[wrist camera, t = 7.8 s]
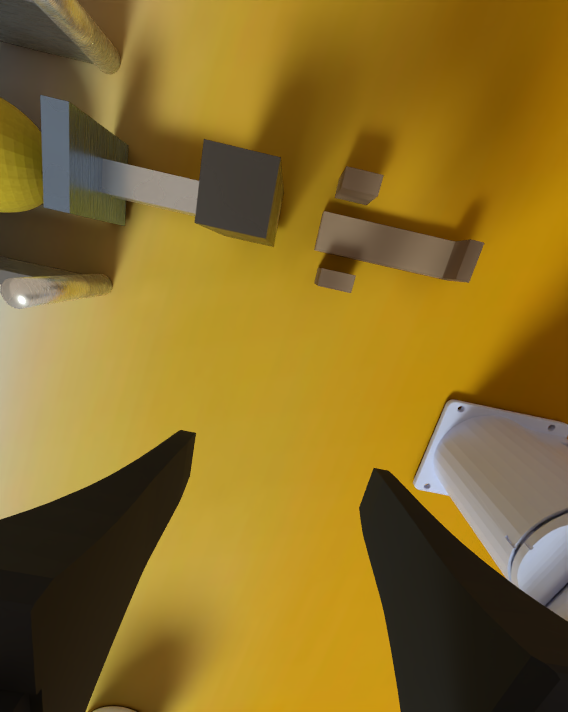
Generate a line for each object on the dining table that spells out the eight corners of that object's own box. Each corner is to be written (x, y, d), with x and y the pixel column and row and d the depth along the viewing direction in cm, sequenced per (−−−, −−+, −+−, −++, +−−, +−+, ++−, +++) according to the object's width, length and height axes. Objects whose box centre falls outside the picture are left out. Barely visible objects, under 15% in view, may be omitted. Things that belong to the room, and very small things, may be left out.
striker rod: (286, 182, 17) (284, 136, 11) (272, 259, 19) (262, 256, 12) (107, 140, 17) (-1, 67, 11) (105, 221, 18) (8, 199, 12)
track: (473, 211, 18) (501, 203, 16) (436, 310, 20) (456, 316, 18) (330, 177, 18) (337, 163, 15) (307, 281, 20) (309, 283, 17)
